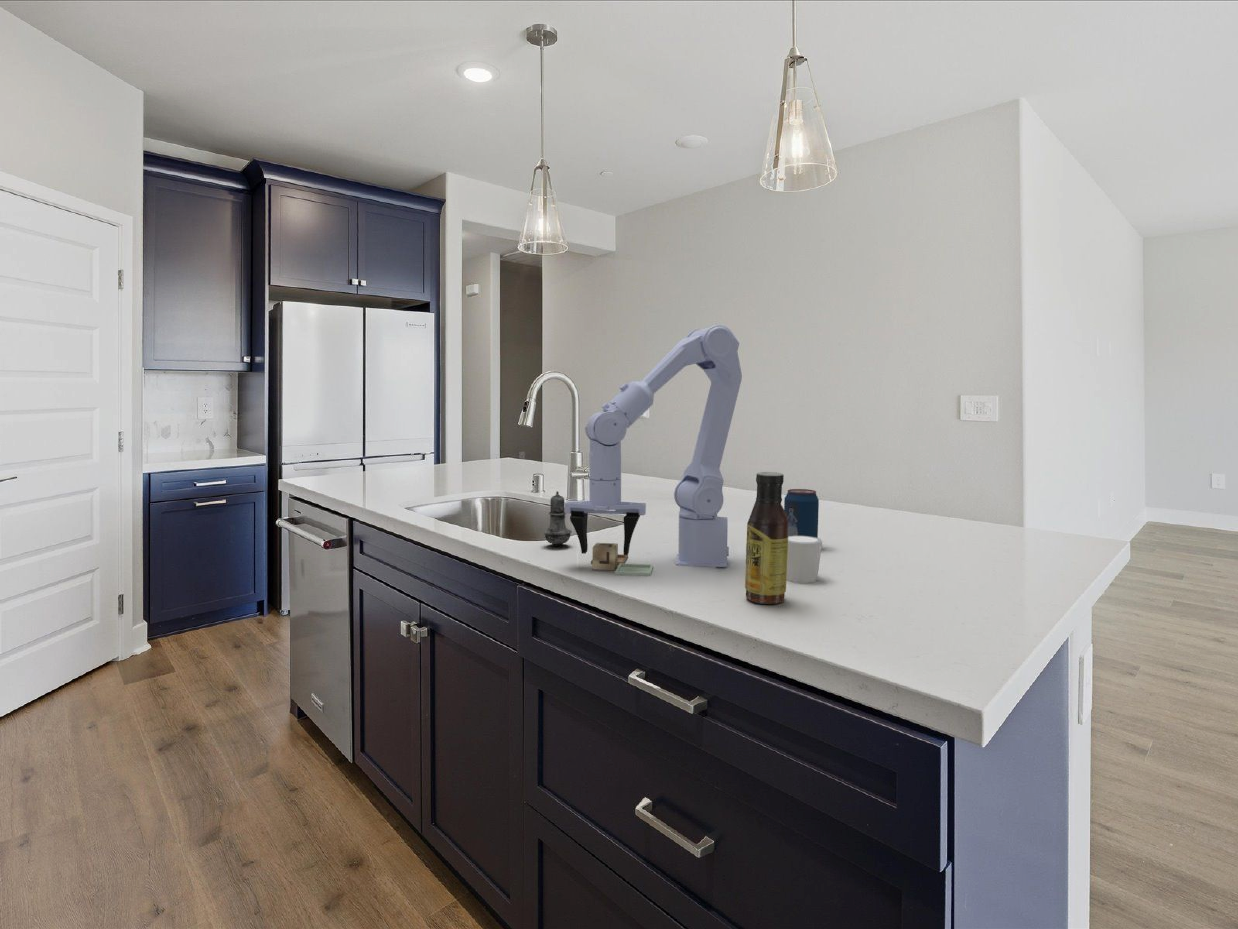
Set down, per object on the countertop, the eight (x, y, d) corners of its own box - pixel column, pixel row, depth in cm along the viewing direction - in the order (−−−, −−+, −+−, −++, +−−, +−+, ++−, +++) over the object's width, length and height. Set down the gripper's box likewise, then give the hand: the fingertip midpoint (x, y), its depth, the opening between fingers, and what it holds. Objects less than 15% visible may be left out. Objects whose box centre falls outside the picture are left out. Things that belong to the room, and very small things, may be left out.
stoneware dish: (653, 568, 125) (653, 564, 124) (650, 577, 118) (650, 573, 118) (619, 567, 125) (619, 563, 125) (614, 576, 119) (614, 571, 119)
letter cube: (617, 564, 126) (617, 543, 125) (614, 570, 122) (614, 548, 122) (596, 564, 126) (596, 542, 126) (592, 569, 122) (592, 547, 122)
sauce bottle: (740, 594, 108) (742, 470, 106) (778, 593, 109) (781, 470, 107) (751, 607, 102) (754, 475, 100) (792, 606, 102) (795, 475, 100)
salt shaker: (567, 552, 138) (567, 493, 137) (539, 550, 139) (539, 492, 138) (575, 545, 144) (574, 489, 142) (548, 544, 145) (547, 488, 144)
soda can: (817, 545, 145) (819, 489, 144) (817, 552, 138) (819, 493, 137) (783, 543, 147) (785, 487, 146) (782, 550, 140) (783, 492, 139)
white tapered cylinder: (799, 585, 114) (800, 544, 113) (771, 576, 120) (772, 537, 119) (829, 580, 117) (831, 540, 116) (801, 571, 123) (802, 533, 122)
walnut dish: (628, 558, 132) (628, 554, 132) (623, 566, 126) (623, 562, 126) (596, 557, 133) (596, 553, 133) (590, 565, 127) (590, 561, 127)
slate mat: (618, 566, 126) (618, 564, 126) (615, 572, 122) (615, 570, 122) (595, 566, 127) (595, 563, 127) (591, 572, 122) (591, 569, 122)
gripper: (560, 480, 120) (561, 556, 121) (643, 482, 118) (642, 559, 119) (569, 476, 126) (569, 548, 128) (647, 477, 125) (646, 550, 126)
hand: (605, 553), depth 124 cm, fingers open, 7 cm apart
